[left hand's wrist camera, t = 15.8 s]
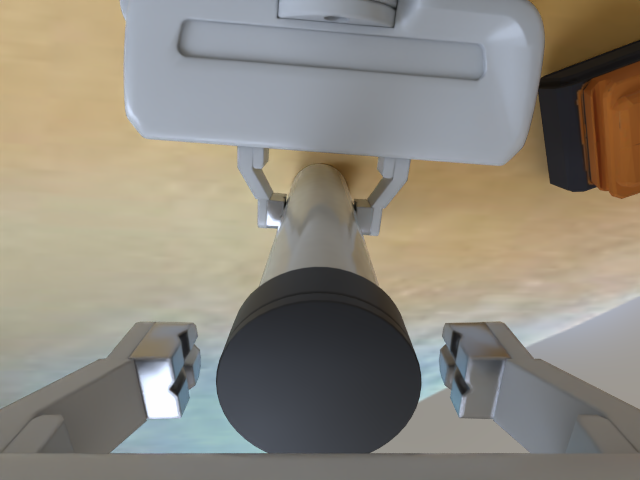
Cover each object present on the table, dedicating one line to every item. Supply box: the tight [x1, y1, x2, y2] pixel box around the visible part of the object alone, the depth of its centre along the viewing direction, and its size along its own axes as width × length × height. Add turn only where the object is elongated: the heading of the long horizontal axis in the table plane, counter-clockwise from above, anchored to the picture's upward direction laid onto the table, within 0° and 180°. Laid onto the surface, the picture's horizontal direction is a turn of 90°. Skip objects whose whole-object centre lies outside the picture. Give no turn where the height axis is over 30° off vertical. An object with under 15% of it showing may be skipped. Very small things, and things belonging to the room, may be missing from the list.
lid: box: [216, 267, 421, 453], centre depth 9 cm, size 5×5×2 cm
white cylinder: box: [259, 164, 379, 287], centre depth 18 cm, size 4×4×19 cm
